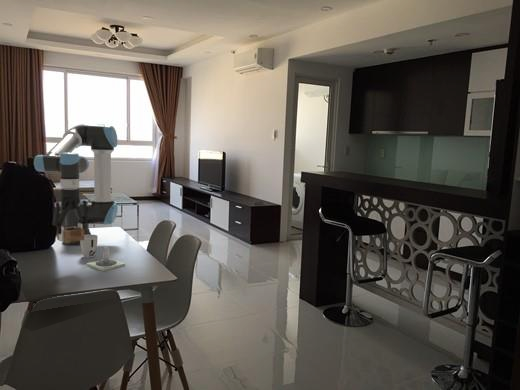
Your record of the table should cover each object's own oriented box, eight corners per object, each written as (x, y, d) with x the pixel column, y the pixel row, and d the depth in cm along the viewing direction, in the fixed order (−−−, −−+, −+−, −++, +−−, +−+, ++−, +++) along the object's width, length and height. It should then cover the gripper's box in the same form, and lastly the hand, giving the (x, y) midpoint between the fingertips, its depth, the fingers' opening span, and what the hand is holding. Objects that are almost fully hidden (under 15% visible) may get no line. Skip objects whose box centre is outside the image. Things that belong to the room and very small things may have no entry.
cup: (91, 259, 205) (91, 238, 204) (76, 257, 207) (76, 237, 206) (100, 254, 213) (100, 235, 212) (86, 253, 215) (86, 233, 214)
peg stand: (86, 265, 195) (86, 247, 194) (109, 260, 205) (109, 243, 204) (102, 271, 188) (102, 252, 187) (125, 265, 198) (125, 247, 197)
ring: (57, 239, 188) (57, 228, 188) (74, 237, 195) (74, 226, 194) (66, 243, 183) (66, 231, 183) (84, 240, 190) (84, 229, 189)
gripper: (50, 191, 175) (51, 244, 178) (96, 187, 192) (97, 237, 195) (41, 189, 180) (43, 241, 183) (87, 186, 196) (88, 234, 199)
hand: (70, 239), depth 189 cm, fingers closed on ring, 8 cm apart
